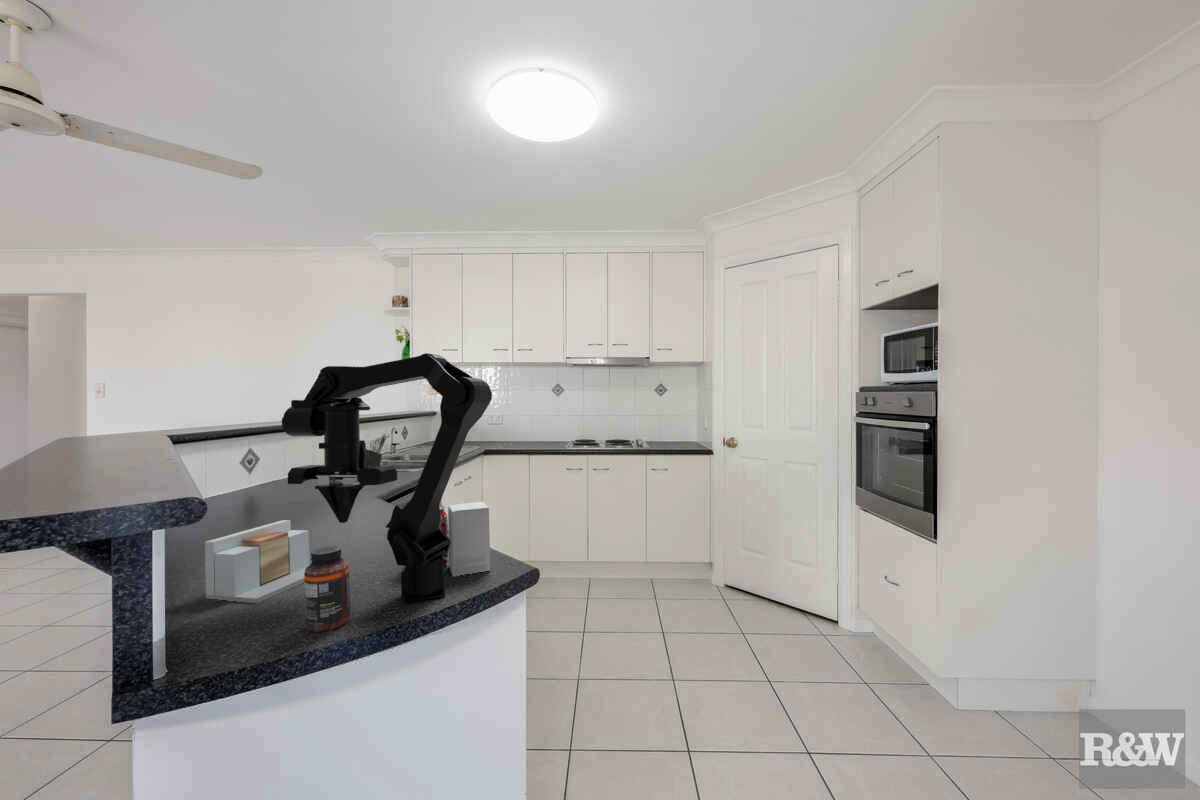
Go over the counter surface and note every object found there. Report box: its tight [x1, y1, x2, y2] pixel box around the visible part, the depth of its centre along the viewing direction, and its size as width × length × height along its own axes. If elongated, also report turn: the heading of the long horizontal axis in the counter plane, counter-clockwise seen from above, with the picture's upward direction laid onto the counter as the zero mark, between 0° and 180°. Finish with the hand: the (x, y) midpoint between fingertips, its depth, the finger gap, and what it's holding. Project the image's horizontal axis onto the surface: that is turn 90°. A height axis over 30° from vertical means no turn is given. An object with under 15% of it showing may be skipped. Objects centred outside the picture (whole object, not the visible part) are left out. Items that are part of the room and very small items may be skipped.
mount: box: [204, 519, 310, 604], centre depth 91 cm, size 11×16×10 cm
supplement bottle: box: [303, 545, 351, 633], centre depth 73 cm, size 6×6×11 cm
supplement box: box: [447, 501, 491, 577], centre depth 97 cm, size 7×7×13 cm
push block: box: [242, 532, 289, 584], centre depth 91 cm, size 4×6×8 cm, turn 168°
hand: (343, 522), depth 88 cm, fingers closed
